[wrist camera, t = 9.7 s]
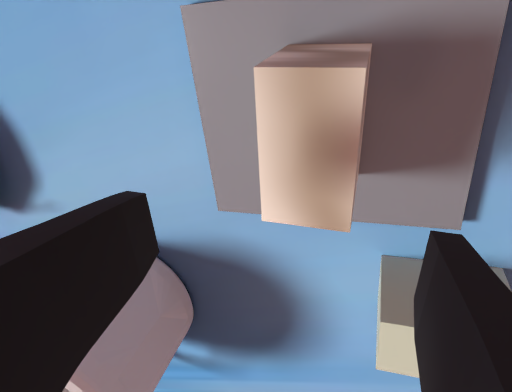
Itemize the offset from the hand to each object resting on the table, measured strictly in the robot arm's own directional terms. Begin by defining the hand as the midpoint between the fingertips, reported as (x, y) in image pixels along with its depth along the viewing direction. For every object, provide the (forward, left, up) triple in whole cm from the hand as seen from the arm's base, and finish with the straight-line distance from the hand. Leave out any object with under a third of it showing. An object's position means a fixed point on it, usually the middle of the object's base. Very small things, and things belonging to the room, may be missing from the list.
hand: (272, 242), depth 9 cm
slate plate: (0, 0, -10) cm, 10 cm away
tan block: (0, 0, -10) cm, 10 cm away
